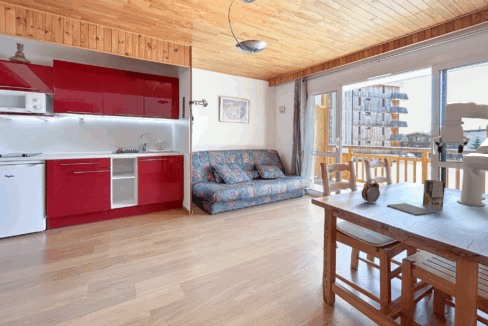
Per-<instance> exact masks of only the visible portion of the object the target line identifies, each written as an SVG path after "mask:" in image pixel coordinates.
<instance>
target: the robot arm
mask: <svg viewBox="0 0 488 326" xmlns="http://www.w3.org/2000/svg"><path fill="white" fill-rule="evenodd" d="M463 118H465V119H480V120H488V104H483V103H479V104H478V103H476V102H473V101H466V102H461V101H454V102H448V103H446V105H445V111H444V120H443V121H444V122H443V123H444V124H443V126H442V127H441V129H440V131H439V132H440V133H439V136H437V137H435V138H433V139H432V141H433V142H434V144H435V145H436V146H437V153H439V154H441V153H443V145H444V144H458V147H457V153H458V154H463V152H464V147H465V146H466V145H467V144H468V143H469V142H470V141H471V138H469V137H467V136H464V129H463V127H464V126H463V125H464V124H465V121H463ZM485 130H486V131H485V133H486V138H485V140H484V141H483V142H482V143H480V144H479V145H478V146H477V148H476V149H475V151H474V153H468V154H466V155H464V156H463V157H462V163H461V164H462V170H463V171H462V183H461V191H460V198H458V199H456V202H457V203H459V204H461V205H468V206H475V207H483V206H486V203H485V202H483V201H486V199H487V198H486V197H485V196H483V193H484V183H485V175H484V172H482V171H488V124H486V128H485ZM463 141H464V142H463Z"/></svg>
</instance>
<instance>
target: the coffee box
mask: <svg viewBox="0 0 488 326" xmlns="http://www.w3.org/2000/svg"><path fill="white" fill-rule="evenodd" d="M423 181H424V182H423V192H422V193H423V194H422V196H423V197H422V206H424V207H426V208H428V209H430V210H437V211H438V210H440V211H443V209H444V208H443V207H444V198H445V197H444V196H445V189H446V188H445V187H446V182H445V181H441V180H436V179H424V180H423Z"/></svg>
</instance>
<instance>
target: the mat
mask: <svg viewBox="0 0 488 326" xmlns="http://www.w3.org/2000/svg"><path fill="white" fill-rule="evenodd" d="M386 207H389V208H392V209H394V210H397V211H401V212H404V213H407V214H409V215H413V216H423V215H424V216H425V215H433V214H436V211H433V210H431V209H430V210H429V209H427V208H423V207H419V206H416V205H412V204H410V203H405V202H404V203H403V202H402V203H394V204H387V205H386Z"/></svg>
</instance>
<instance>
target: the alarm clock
mask: <svg viewBox="0 0 488 326" xmlns="http://www.w3.org/2000/svg"><path fill="white" fill-rule="evenodd" d="M370 181H374V182H373V183H369V182H370ZM379 188H380V184H379V183H378V181H376V179H375V180H374V179H369V180H367V182H365V183H364V184H363V189H362V190H361V197H362V199H363V200H364V203H366V202H367V203H369V202H370V203H377V201H378V199H380V194H381V191H380V189H379Z"/></svg>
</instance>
